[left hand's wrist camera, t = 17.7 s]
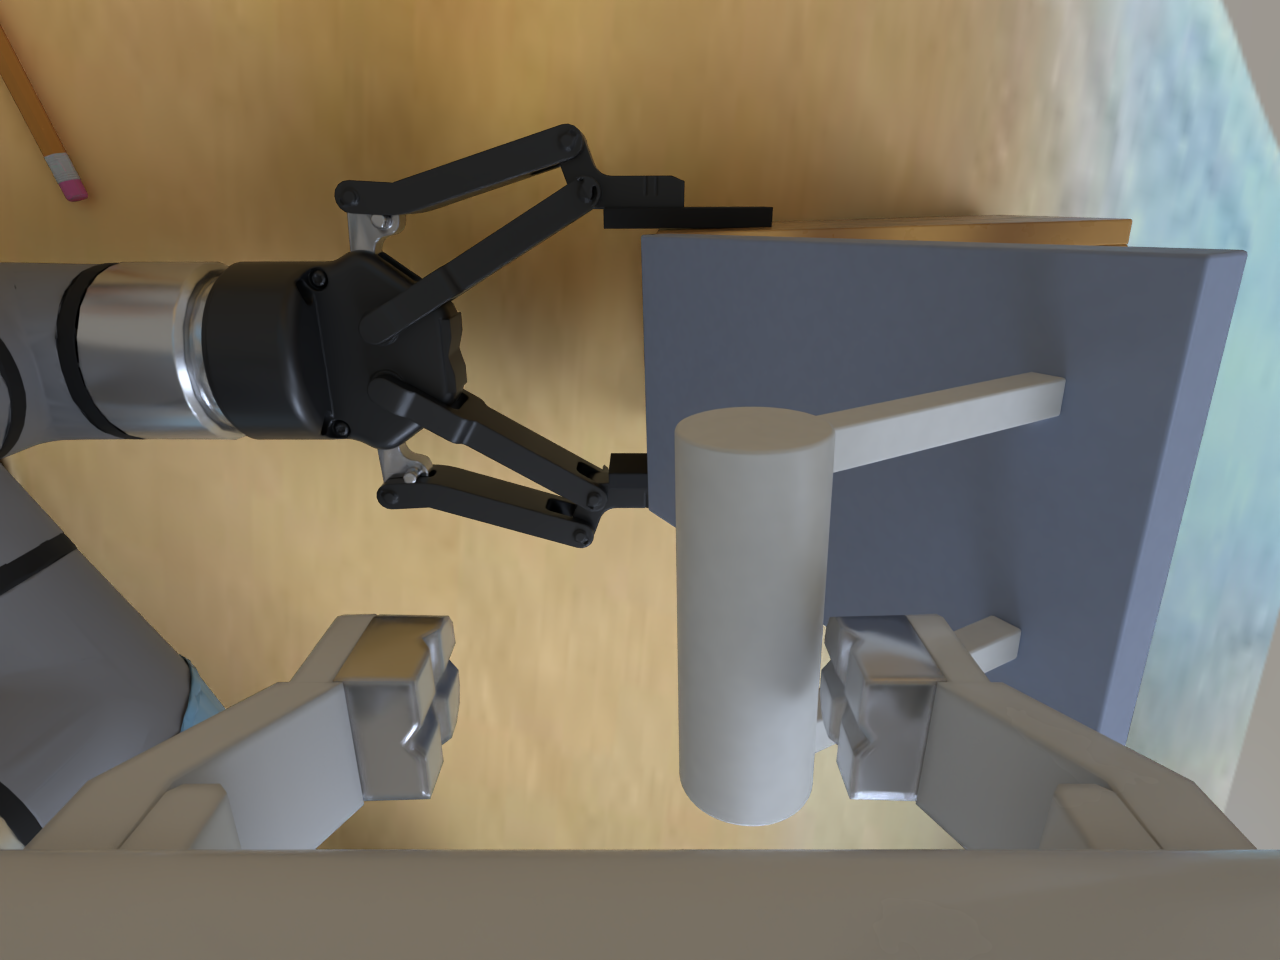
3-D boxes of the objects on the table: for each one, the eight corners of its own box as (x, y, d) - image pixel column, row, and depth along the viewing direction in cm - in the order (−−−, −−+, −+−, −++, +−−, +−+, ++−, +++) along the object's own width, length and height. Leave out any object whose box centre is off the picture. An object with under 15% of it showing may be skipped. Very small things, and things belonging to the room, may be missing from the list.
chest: (1000, 214, 35) (1133, 218, 25) (973, 419, 38) (1080, 495, 28) (660, 225, 36) (655, 233, 26) (664, 425, 39) (661, 500, 29)
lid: (1251, 250, 11) (801, 299, 7) (1120, 774, 15) (768, 1001, 11) (670, 233, 25) (408, 246, 21) (674, 504, 29) (450, 559, 25)
